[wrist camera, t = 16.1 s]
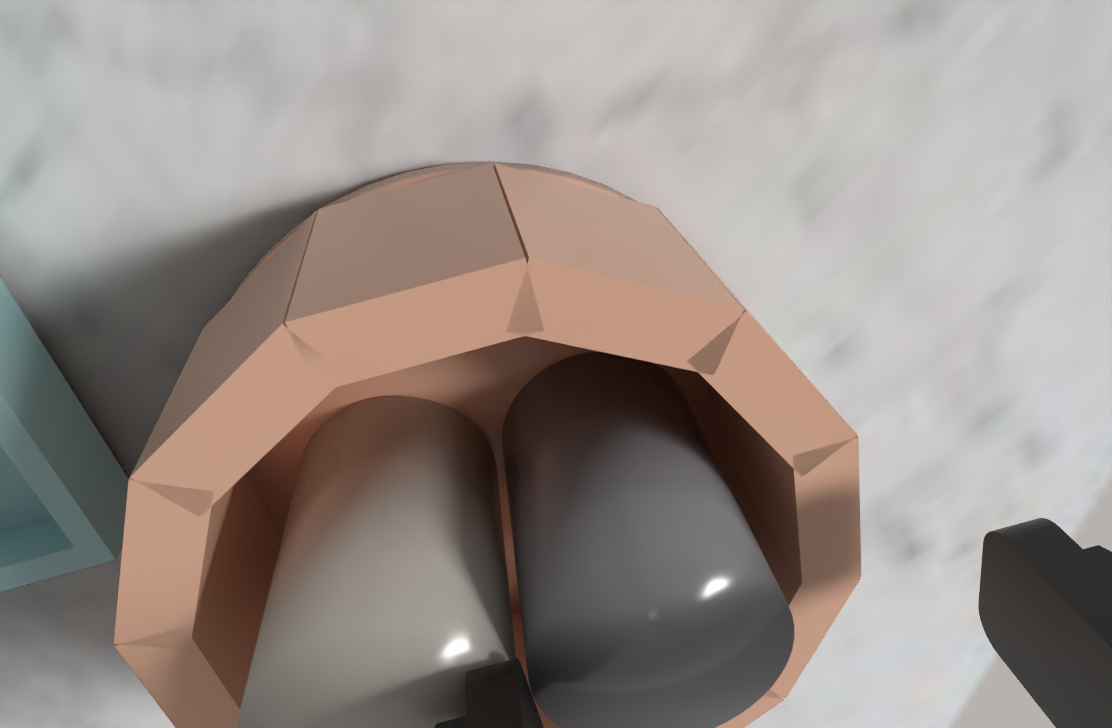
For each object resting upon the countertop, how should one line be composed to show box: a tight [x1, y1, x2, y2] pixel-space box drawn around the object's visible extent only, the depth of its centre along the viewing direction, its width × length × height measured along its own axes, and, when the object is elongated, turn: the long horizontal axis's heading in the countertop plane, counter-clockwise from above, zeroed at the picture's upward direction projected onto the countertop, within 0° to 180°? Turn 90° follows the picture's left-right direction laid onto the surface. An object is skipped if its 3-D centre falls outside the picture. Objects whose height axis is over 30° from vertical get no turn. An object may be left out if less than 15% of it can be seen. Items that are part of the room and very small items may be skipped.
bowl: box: [114, 162, 861, 728], centre depth 14 cm, size 11×11×5 cm
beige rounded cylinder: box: [238, 396, 516, 728], centre depth 13 cm, size 4×4×6 cm
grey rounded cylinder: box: [502, 352, 794, 728], centre depth 14 cm, size 4×4×6 cm
